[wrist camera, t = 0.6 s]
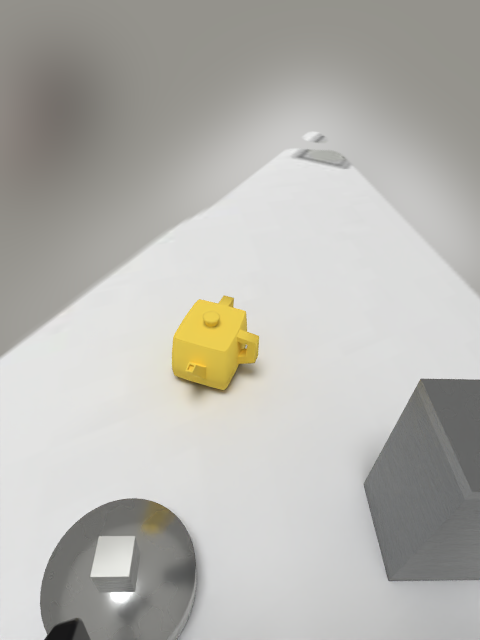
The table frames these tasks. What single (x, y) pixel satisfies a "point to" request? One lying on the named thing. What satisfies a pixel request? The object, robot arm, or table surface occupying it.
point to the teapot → (213, 343)
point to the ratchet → (122, 573)
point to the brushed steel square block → (430, 485)
